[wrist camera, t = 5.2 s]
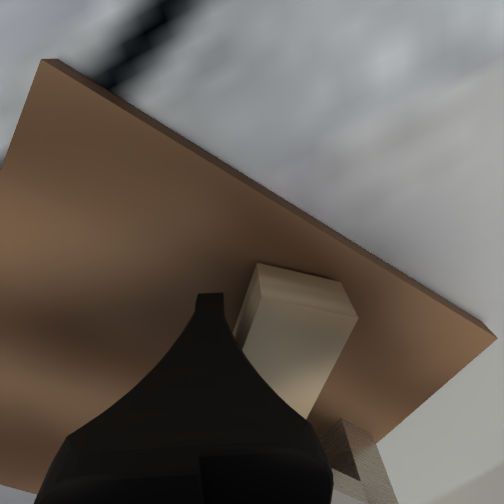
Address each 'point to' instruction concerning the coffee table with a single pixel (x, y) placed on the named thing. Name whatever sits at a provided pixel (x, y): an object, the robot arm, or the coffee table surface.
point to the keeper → (356, 466)
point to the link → (294, 331)
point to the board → (172, 275)
